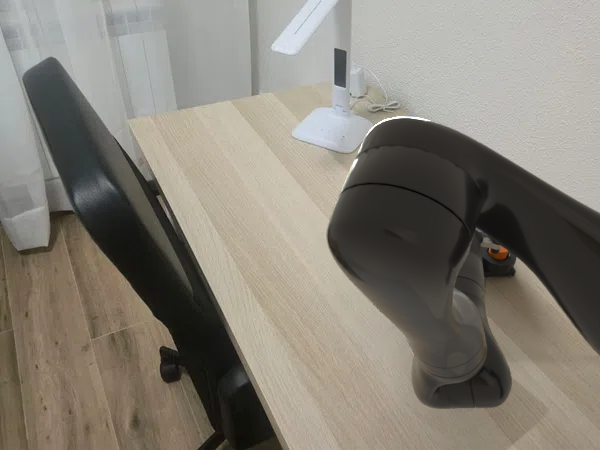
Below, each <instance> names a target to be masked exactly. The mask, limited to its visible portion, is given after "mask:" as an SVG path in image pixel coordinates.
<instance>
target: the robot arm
mask: <svg viewBox="0 0 600 450" xmlns="http://www.w3.org/2000/svg"><path fill="white" fill-rule="evenodd" d="M367 132H368V133H367V134H366V135H365V137H364V139H363V141H362V143H361V145H360V147H359V149H358V151H357V153H356V155H355V158H354V160H353V163H352V165H351V166H350V168H349V172H348V173H347V176H346V179H345V180H344V183H343V185H342V186H341V189H340V191H339V194H338V197H337V198H336V199H335V203H334V206H333V208H332V210H331V214H330V216H329V219H328V222H327V226H326V232H325V239H326V244H327V247H328V250H329V252H330V255H331V256H332V258H333V260H334V262H335V263H336V264H337V266H338V268H339V269H340V271H341V272H342V273H343V274H344V276H345V277H346V278H347V279H348V280H349V281H350V282H351V283H352V284H353V285H354V286H355V287H356V289H358V290H359V291H360V292H361V294H362V295H364V297H365V298H366V299H367V300H368V301H369V302H370V303H371V304H372V305H373V306H374V307H375V308H376V309H377V310H378V311H379V312H380V313H381V314H382V315H383V316H384V317H385V318H386V319H388V320H389V321H390V323H392V324H393V325H394V326H395V327H396V328H397V329H398V330H399V331H400V332H401V333H402V334H403V336H404V337H405V339H406V340H407V342H408V344H409V347H410V349H411V351H412V353H413V358H412V362H411V371H410V375H411V376H410V377H411V385H412V389H413V393H414V394H415V396H416V398H417V400H418V401H419V402H420V403H421V404H423V405H424V406H426V407H428V408H431V409H435V410H450V409H451V410H458V409H459V410H460V409H461V410H462V409H492V408H497V407H499V406H502V405H503V404H504V403H505V402H506V401H507V399H508V398H509V396H510V394H511V392H512V385H513V380H512V379H513V378H512V373H511V369H510V365H509V363H508V361H507V359H506V356H505V354H504V352H503V350H502V349H501V347H500V345H499V343H498V341H497V340H496V337H495V335H494V333H493V332H492V329H491V326H490V323H489V321H488V315H487V308H486V307H487V306H486V299H485V287H486V286H485V278H484V270H483V262H482V253H481V247H487V248H490V251H491V252H492V253H494V254H497V253H499V251H500V248H501V246H502V247H504V248H505V249H507V250H508V251H509V252H511V253H512V254H513V255H515V256H516V257H517V258H516V259H518V260H519V261H520V262H522V263H523V264H524V265H525V266H526V267H527V269H528V270H530V271H531V272H532V273H533V275H535V277H536V278H537V279H538V280H539V281H540V283H541V284H542V285H543V286H544V288H545V289H546V290H547V292H548V293H549V294H550V295H551V297H552V298H553V299H554V301H555V302H556V304H557V305H558V307H559V308H560V309H561V311H562V312H563V314H565V316H566V318H567V319H568V320H569V321H570V323H571V325H572V326H573V327H574V328H575V330H576V331H577V332H578V333H579V334H580V336H581V337H582V338H583V340H584V341H585V342H586V343H587V344H588V345H589V346H590V348H591V349H592V350H593V351H594V352H595V353H596V354H598V356H599V357H600V211H597V210H595V209H593V208H592V207H590V206H588V205H586V204H584V203H583V202H580V201H579V200H578V199H576V198H574V197H572V196H570V195H569V194H567V193H565V192H564V191H562V190H560V189H558V188H557V187H556V186H554V185H551V184H550V183H549V182H547V181H545V180H544V179H542V178H540V177H538V176H537V175H535V174H533V173H532V172H530V171H528V170H527V169H525V168H524V167H522V166H520V165H519V164H517V163H515V162H514V161H512V160H510V159H509V158H507V157H506V156H504V155H503V154H500V153H499V152H497V151H496V150H494V149H493V148H491V147H489V146H487V145H486V144H484V143H482V142H480V141H478V140H476V139H475V138H473V137H471V136H469V135H467V134H465V133H464V132H461V131H459V130H457V129H455V128H452V127H449V126H447V125H444V124H442V123H439V122H436V121H433V120H430V119H429V120H428V119H425V118H420V117H414V116H396V117H395V116H394V117H392V118H387V119H383V120H382V121H380V122H378V123H377V124H375V125H374V126H372V127H371V129H369V131H367ZM480 233H481V234H483V235H484V236H486V238H483V236H482V235H481V234H480Z"/></svg>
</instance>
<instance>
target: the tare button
mask: <svg viewBox="0 0 600 450" xmlns="http://www.w3.org/2000/svg"><path fill="white" fill-rule="evenodd" d="M508 252H509V251H508V250H507V249H505V248H504V247H502V246H501V248H500V251H499V253H497V254H494V253H492V252H491V251H490V249H489V255H490V256H491V257H492V258H493V259H497V260H504V259H505V258H506V257H507V254H508Z"/></svg>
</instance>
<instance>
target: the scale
mask: <svg viewBox="0 0 600 450" xmlns="http://www.w3.org/2000/svg"><path fill="white" fill-rule="evenodd" d="M480 234H481V233H480ZM481 235H482V236H483V238H486V236H484V235H483V234H481ZM489 249H490V248H487V247H481V253H482V262H483V270H484V279H488V278H504V277H507V278H509V277H515V274H516V272H517V271H516V269H515V265H516V262H517V259H518V258H517V257H516V256H515V255H513V254H512V253H511V252H508V254H507V257H506V258H505V259H504V260H497V259H493V258H492V257H491V256H490V255H489Z"/></svg>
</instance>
